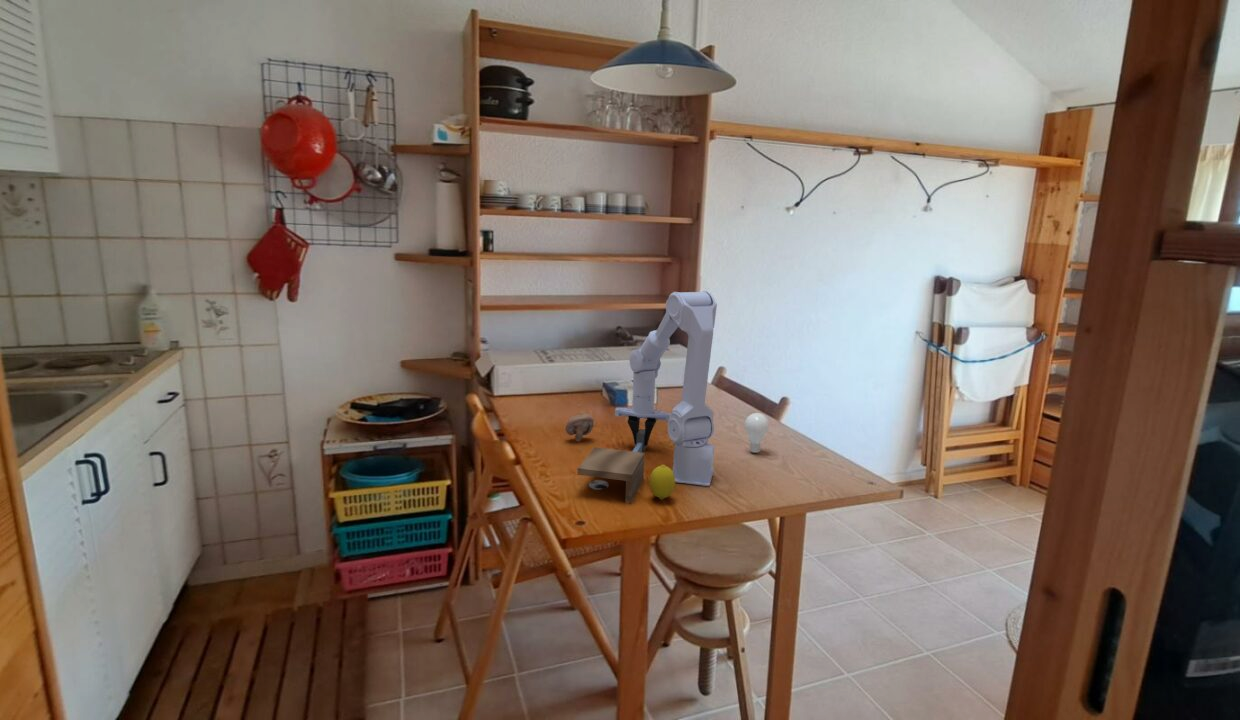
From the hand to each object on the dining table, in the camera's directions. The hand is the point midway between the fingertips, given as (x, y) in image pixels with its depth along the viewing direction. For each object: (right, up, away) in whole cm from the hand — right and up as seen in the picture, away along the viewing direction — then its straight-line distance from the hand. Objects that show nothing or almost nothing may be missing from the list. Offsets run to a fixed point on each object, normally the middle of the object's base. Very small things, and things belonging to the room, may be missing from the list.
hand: (641, 444), depth 170 cm
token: (-11, -7, -24) cm, 27 cm away
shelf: (-8, -6, -25) cm, 27 cm away
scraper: (-2, -3, -7) cm, 8 cm away
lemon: (+3, -8, -31) cm, 32 cm away
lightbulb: (+30, -3, +1) cm, 30 cm away
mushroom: (-17, 0, +5) cm, 18 cm away
